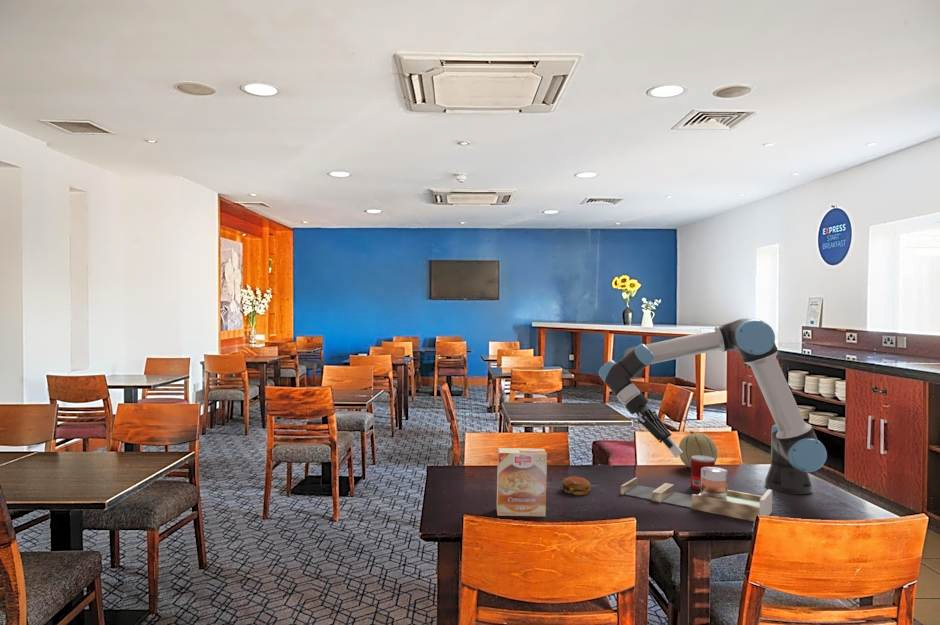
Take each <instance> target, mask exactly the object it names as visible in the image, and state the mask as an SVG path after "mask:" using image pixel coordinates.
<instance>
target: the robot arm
mask: <svg viewBox="0 0 940 625" xmlns="http://www.w3.org/2000/svg"><path fill="white" fill-rule="evenodd" d="M775 335H776V334H775V332H774V330H773V328H772V327H771V325H769V324H768V323H767V322H765V321H764V320H762V319H758V318H740V319H737V320H734V321H731V322H729V323H725V324H721V325H716V326H715V327H714V328H713V329H711V330H707V331H701V332H697V333H693V334H689V335H684V336H678V337H675V338H670V339H666V340H662V341H658V342H652V343H647V344H644V343H640V344H639V345H637V346H631V347H628V348H627V349H625V350H624V352H623V355H622V358H621V359H619V361H617V362H616V361H614V360H613V359H612V360H609V361H606V363H604V364H603V365H602V366H601V367H600V368H599V370H598V372H597V373H598V376H599V378H600V379H601V380H602V381H603V383H604V385H606V386H607V387H608V389H609V390H610V391H611V392H612V393H613V394H614V395H615V397H616V398H617V401H618V402H620V403H621V404H622V405H624V406H625V407H624V408H625V409H626V410H627V411H628V413H629V414H630V415H635V414H636V415H637V417H638V419H637V422H638V423H640V424H641V425H642V426H643V427H644V428H645V429H646V430H647V431H648V432H649V433H650V434H651V436H653V437H654V438H655V439H656V440H657V441H658V443H660V444H661V443H663V444H664V446H665V447H667V450H669V451H670V452H671V454H672V455H673V456H674V457H675V458H677V457H680V454H681V453H682V452H683V451H682V450H681V449H680V448H679V445H678V444H677V443H676V442H675V440H674V439H673V438H672V437H671V436H672V433H671V432H670V431H669V429H668V427H666V425H665V423H664V422H663V421H662V419H661V418H660V417H659V415H658V413H657V412H656V411H655V410H654V411H652V409H650V408H649V407H648V406H647V404H649V400H648V399H647V398H646V396H645V395H644V394H643V393H641V391H640V389H639V388H638V387H637V386H636V385H635V383H633V381H632V379H633V378H634V377H636V376H637V375H638V374H639V373H641V372H642V371H643V370H644V369H646V368H647V367H648V366H650V365H653V364H658V363H663V362H667V361H668V362H669V361H672V360H679V359H681V358H682V359H683V358H687V357H691V356H696V355H701V354H706V353H710V352H711V353H712V352H716V351H720V352H722V353H724V352H730V351H738V353H739V355H740V357H741V359H742V363H743V364H746V365H747V366H749V367H750V369H751V371H752V373H753V376H754V377H755V379H756V380H755V381H756V382H757V385H758V387H759V389H760V391H761V393H762V395H763V396H762V397H763V398H764V400H765V403H766V406H767V407H768V409H769V412H770V414H771V417H772V418H773V421H774V423H775V424H773V425H772V427H771V432H770V435H771V436H770V441H771V442H770V446H771V447H770V466H769V468H768V472H767V473H766V476H765V480H764V486H765V487H766V488H767V489H770V490H772V491H774V492H778V493H782V494H791V495H807V494H811V493H812V492H813V483H812V480H811V478H810V475H809V473H812V472H816V471H818V470H819V469H821V468H822V467H823V466H824V465H825V463H826V461H827V458H828V452H827V449H826V447H825V445H824V444H823V442H821V441H820V440H818V437H817V434H816V433H815V430H814V429H813V425H811V424H809V423H807V422H805V420H804V418H803V416H802V414H801V411H800V409H799V406H798V405H797V404H798V403H797V402H796V399H795V397H794V395H793V393H792V390H791V389H790V385H789V384H788V382H787V379H786V377H785V375H784V372H783V370H782V368H781V366H780V363H779V361H778V358H777V356H778V353H779V349H778V347H777V344H776V336H775Z"/></svg>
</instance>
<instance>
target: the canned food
mask: <svg viewBox="0 0 940 625" xmlns="http://www.w3.org/2000/svg"><path fill="white" fill-rule="evenodd" d="M702 467H716V462H715V459H714V458H712V457H709V456H702V455H695V456H692V457H691V468H690V487H691V488H692V489H693V490H696V491H700V492H701V468H702Z"/></svg>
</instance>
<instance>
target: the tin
mask: <svg viewBox="0 0 940 625" xmlns="http://www.w3.org/2000/svg"><path fill="white" fill-rule="evenodd" d="M728 484H729V482H728V470H727V469H725V468H722V467H716V466H715V467H702V468H701V491H700V492H701V496H706V497H712V498H717V499H722V500H727V490H728Z"/></svg>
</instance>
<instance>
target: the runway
mask: <svg viewBox="0 0 940 625" xmlns="http://www.w3.org/2000/svg"><path fill="white" fill-rule="evenodd" d="M638 483H639V480H638V477H634V478H632V479H630V480H628V481H626V482H625V483H623V484H622V485H620V495H622V496H627V497H632V498H636V499H640V500H641V499H642V500H647V501H650V502H651V501H652V502H656V503H661V504H664V505H665V504H667V505H671V506H675V507H681V508H685V509H691V510H696V511H699V512H700V511H701V512H705V513H711V514H716V515H721V516H725V517H731V518H736V519H740V520H745V521H751V522H755V519H756V516H757V515H759V511H760V506H754V505H749V504H744V503H738V502H733V501H728V500H722V499H717V498H712V497H706V496H701V491H700V492H699V493H698V494H694V493H692V494H686V493H681V492H675V484H673V483H668V482H664V483H663V484H662V485H660V486H658V487H656V488H655V487H650V486H645V485H640V484H638ZM730 496H734V497H740V498H745V499H751V500H756V501H760V499H761V497H762V496H763V495H759V494H753V493H747V492H742V491H737V490H731V489H727V499H728V498H729V497H730Z"/></svg>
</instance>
